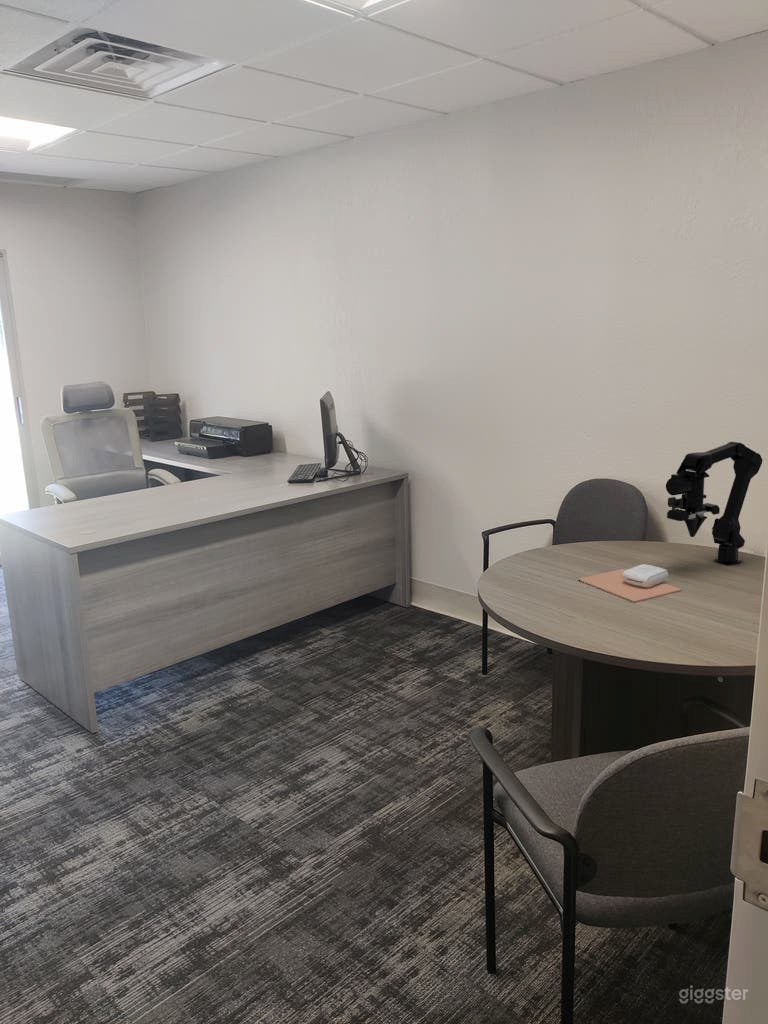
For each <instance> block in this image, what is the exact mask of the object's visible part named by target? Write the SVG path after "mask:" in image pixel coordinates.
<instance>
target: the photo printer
mask: <svg viewBox="0 0 768 1024" xmlns="http://www.w3.org/2000/svg"><path fill="white" fill-rule="evenodd" d="M625 570H626V571H624V572H623V574H622V579H623V580H624V581H625V582H627V583H629V584H632V585H636V586H640V587H651V586H654V585H656V584H659V583H661V582H662V583H664V582H666V581H667V579H668V578H669V572H668V571H667V569H665V568H662V567H658V566H654V565H651V564H645V563H644V564H643V563H642V564H640V565H636V566H634V567H631V568H628V569H625Z"/></svg>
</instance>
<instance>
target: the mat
mask: <svg viewBox="0 0 768 1024" xmlns="http://www.w3.org/2000/svg"><path fill="white" fill-rule="evenodd" d="M626 570H627V569H626V568H621V569H617V570H612V571H607V572H602V573H599V574H593V575H589V576H585V577H581V578H580V577H579V578H577V581H578V580H580V581H583V582H585V583H587V584H586V585H588V584H589V585H588V586H590V585H592V586H591V587H593V586H594V588H595V587H596V588H595V589H598V588H599V589H598V590H600V589H601V591H604V592H605V591H606V593H609V594H610V593H611V595H613V596H616V597H619V598H620V599H624V600H626V601H628V602H631V603H639V602H642V601H643V602H644V601H648V600H651V599H654V598H659V597H663V596H667V595H671V594H675V593H679V592H683V589H682V588H679V587H676V586H673V585H670V584H667V583H664V582H661V583H659V584H656V585H654V586H651V587H640V586H636V585H632V584H629V583H627V582H625V581H624V580H623V579H622V574H623V572H624V571H626ZM580 581H579V582H580ZM583 582H582V583H583ZM585 583H584V584H585Z"/></svg>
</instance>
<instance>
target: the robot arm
mask: <svg viewBox="0 0 768 1024" xmlns="http://www.w3.org/2000/svg"><path fill="white" fill-rule="evenodd" d="M727 459H731V460H732V461H733V465H732V468H733V471H734V475H735V476H734V479H733V482H732V485H731V489H730V492H729V496H728V498H727V502H726V505H725V508H724V510H723V514H722V515H721V516H720V518H717V517H716V518H715V519H714V522H713V526H712V527H711V535H712V538H713V542H714V544H718V550H717V558H715V559H713V560H714V562H717V561H718V563H720V562H721V564H723V563H725V565H727V564H728V566H730V564H732V565H736V564H739V563H738V562H740V563H742V560H740V559H739V549H741V548H742V547H743V548H744V546H745V543H746V539H744V537H743V536H742V535H741V533H740V532H741V524H740V521H739V518H740V515H741V511H742V508H743V504H744V502H745V498H746V495H747V492H748V489H749V485H750V482H751V479H753V478H754V477H755V476H756V475H757V474H758V473H759V471H760V469H761V467H762V465H763V458H762V455H761V454H760V453H759V452H756V451H755V450H752V449H751V448H749V447H747V446H746V445H745V444H744V443H742V442H737V441H729V442H727V443H725V444H723V445H720V446H718V447H715V448H712V449H710V450H706V451H701V452H700V451H698V452H690V453H687V454H685V456H684V458H683V460H682V462H681V463H680V465H679V467H678V469H677V471H676V473H673V474H671V475H670V478H668V480H667V481H666V484H665V489H666V491H667V494H669V495H670V496H672V497H667V506H668V507H669V508H671V509H670V510H668V511H667V512H666V519H668V520H672V521H673V520H674V521H677V522H684V523H685V525H686V528H687V531H688V534H689V537H690V538H694V537H695V536H696V535H697V533H698V531H699V530H700V528H701V526H702V525H703V523H705V520H706V519H708V516H705V514H704V513H711V514H712V515H713V516H714V515H719V514H720V509H721V508H720V507H719V505H718V504H713V503H709V502H708V503H707V502H706V503H704V499H707V495H706V494H705V492H704V491H705V478H710V475H709V473H707V471H708V470H709V469H711V468H712V466H713V465H714V464H717V463H719V462H721V461H724V460H727ZM678 495H679V496H680V495H681V498H676V497H675V496H678ZM735 563H736V564H735Z"/></svg>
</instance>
